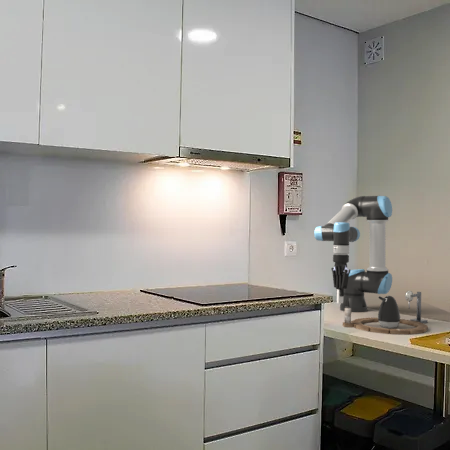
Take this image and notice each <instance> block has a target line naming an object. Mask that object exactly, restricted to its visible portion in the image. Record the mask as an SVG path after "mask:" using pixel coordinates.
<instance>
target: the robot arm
mask: <svg viewBox="0 0 450 450" xmlns="http://www.w3.org/2000/svg"><path fill="white" fill-rule="evenodd" d="M392 215H393V204H392V202H391V200H390V198H389V197H388V196H386V195H361V196H356V197H353V198H351V199H350V200H349V201H347V202H346V203H344V204H343V205H342V206H341V209H340V210H339V211H338V212H337V213H336V214H335V215H334V216H333V217H332V218H331V219H330V220H329V221H328V222H327V223H325V224H324V225H320V226H316V227H315V229H314V231H313V232H314V238H315V240H316V241H317V242H318V241H319V242H320V241H321V242H333V249H332V250H333V251H332V253H333V255H332V256H333V257H332V261H333V263H334V266H333V267H331V270H330V271H331V272H332V273H331V274H332V280H333V288H335V289H336V304H340V306H339V310H340V311H343V310H344V312H345V308H351V313H352V312H354V313H362V312H367V311H368V306H367V305H368V304H367V301H366V299H365V294H366V293H367V294H377V295H386V294H388V293H389V292H390V290H391V288H392V283H393V275H392V273H390V272H389V269H388V268H387V267H386V223H387V222H388V221H389V218H390V217H392ZM357 218H366V221H367V223H368V229H369V232H368V233H369V236H368V237H369V238H368V239H369V242H368V243H369V246H368V247H369V248H368V249H369V254H368V255H369V263H368V264H369V266H368V267H367V268H366V270H365V268H360V269H359V268H357V269H349V268H348V263H349V262H350V255H349V254H350V243H354V242H357V241H358V240H359V239H360V237H361V232H360V230H359V229H358V228H357V227H355V226H350V223H349V222H351V220H354V219H357Z"/></svg>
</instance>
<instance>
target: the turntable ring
mask: <svg viewBox="0 0 450 450" xmlns="http://www.w3.org/2000/svg"><path fill="white" fill-rule="evenodd" d="M377 322H378V323H379V320H378V317H361V318H355V319H353V320H352V312H351V308H345V311H344V321H343V322H342V326H343V327H344V328H355V329H357V330H361V331H365V332H367V333H368V332H370V333H379V334H386V335H389V334H390V335H417V334H424V333H425V332H427V331H428V330H429V326H428V325H426V323H421V322H416V321H411V320H410V319H405V318H404V319H403V318H400V321H399V324H401V325H406V326H407V325H408V326H412V327H413V328H412V327H411V328H384V327H376V326H372V325H371V326H370V325H366V324H367V323H377Z"/></svg>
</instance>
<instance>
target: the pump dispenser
mask: <svg viewBox="0 0 450 450" xmlns="http://www.w3.org/2000/svg"><path fill="white" fill-rule="evenodd" d="M378 299H379V300H381V303H380V305H379V308H378V314H377V318H378V320H379V322H378V324H379V325H380V326H381V328H385V329H397V327H398V326H399V325H400V323H399V321H400V319H401V314H400V308H399V305H398V302H397V301H396V299H395V297H394V296H392V295H386V296H384V297H382V296H378Z"/></svg>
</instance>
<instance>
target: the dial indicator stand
mask: <svg viewBox="0 0 450 450" xmlns="http://www.w3.org/2000/svg"><path fill="white" fill-rule="evenodd" d="M404 296H405V300H406V302H408V310H410V309H411V301H413V300H414V298H416V318H412V319H411V318H410V319H409V320H411V321H416V322H421V323H423V324H428V320H427V319H422V291H416V293H413V291H412V290H407V291H406V292H405V295H404Z"/></svg>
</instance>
